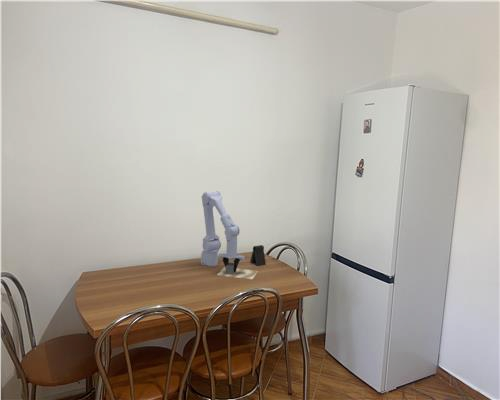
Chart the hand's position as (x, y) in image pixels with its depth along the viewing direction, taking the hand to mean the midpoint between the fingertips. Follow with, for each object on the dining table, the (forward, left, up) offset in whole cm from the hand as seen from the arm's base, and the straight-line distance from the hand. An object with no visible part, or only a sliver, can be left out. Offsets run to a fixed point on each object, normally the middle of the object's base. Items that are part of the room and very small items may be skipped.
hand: (231, 271), depth 203 cm
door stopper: (+11, +20, -2) cm, 23 cm away
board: (+4, 0, -2) cm, 4 cm away
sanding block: (0, 0, 0) cm, 0 cm away
